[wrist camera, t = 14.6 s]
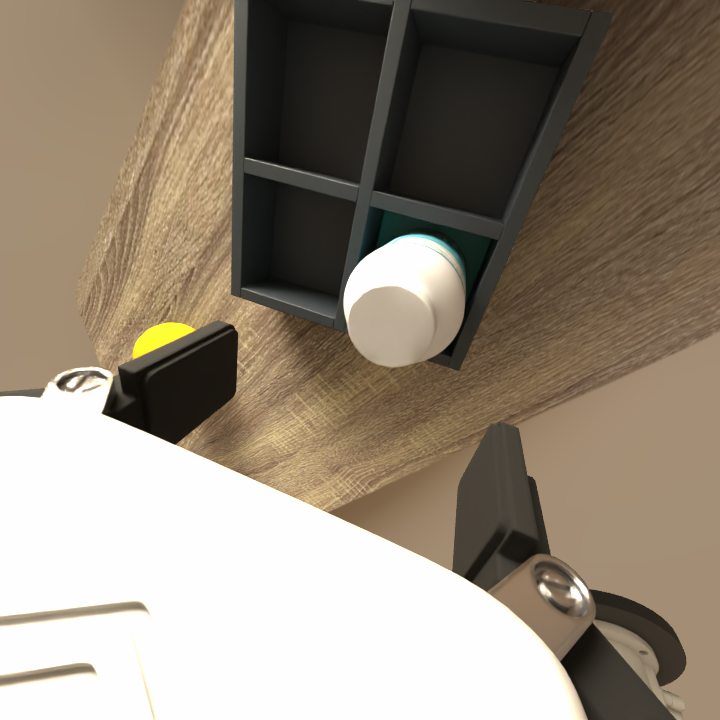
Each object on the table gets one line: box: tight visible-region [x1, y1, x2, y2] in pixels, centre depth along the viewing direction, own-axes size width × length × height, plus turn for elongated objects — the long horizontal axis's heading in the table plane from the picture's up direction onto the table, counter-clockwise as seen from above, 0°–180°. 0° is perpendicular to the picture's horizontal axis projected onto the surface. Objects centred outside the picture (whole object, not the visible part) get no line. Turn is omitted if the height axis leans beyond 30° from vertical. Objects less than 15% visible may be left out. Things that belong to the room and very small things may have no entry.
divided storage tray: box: [231, 0, 614, 371], centre depth 25 cm, size 21×21×6 cm
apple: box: [133, 323, 195, 359], centre depth 39 cm, size 8×8×8 cm
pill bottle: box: [344, 229, 466, 367], centre depth 23 cm, size 8×7×14 cm
